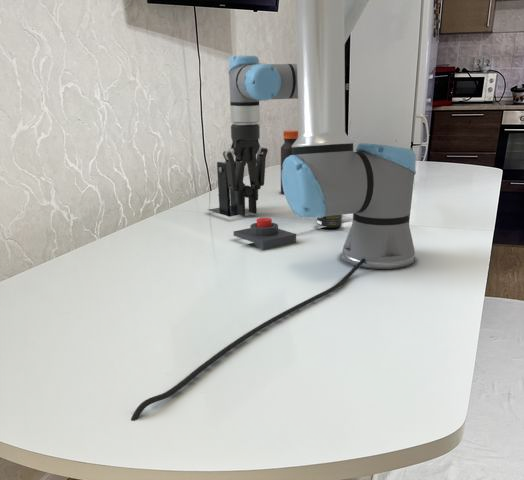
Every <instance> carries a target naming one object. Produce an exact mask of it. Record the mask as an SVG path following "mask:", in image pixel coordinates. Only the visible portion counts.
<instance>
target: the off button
mask: <svg viewBox="0 0 524 480" xmlns="http://www.w3.org/2000/svg"><path fill="white" fill-rule="evenodd" d="M256 223H257V227H271V226H272V223H273V219H272V218H270V217H258V218H257V219H256Z"/></svg>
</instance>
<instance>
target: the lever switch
mask: <svg viewBox="0 0 524 480" xmlns="http://www.w3.org/2000/svg"><path fill="white" fill-rule="evenodd" d="M224 162H225V161H224ZM224 162H222V161H217V162H216V167H217V168H216V171H217V190H218V207H214V208H208V211H210V212H213V213H215V214H220V215H223V216H226V217H228V218H229V217H235V216H240V215H239V214H237V203H236V202H235V191H234V190H232V189H229V188H228V181H227V171H226V163H224ZM234 162H235V160H234ZM235 169H236V164H235ZM246 214H251V213H250V212H249V209H247V208H245V215H246Z"/></svg>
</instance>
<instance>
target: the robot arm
mask: <svg viewBox="0 0 524 480" xmlns="http://www.w3.org/2000/svg"><path fill="white" fill-rule="evenodd" d="M369 1H370V0H294V19H295V21H294V22H295V49H296V51H295V52H296V63H260V61H259V60H260V59H259V57H258V56H256V55H232V56H231V57H229V61H228V73H227V74H228V78H229V79H228V81H229V102H230V103H229V107H230V122H231V123H232V124H231V125H230V138H231V145H230V148H229V150H227V151H226V150H224V151H223V152H222V156H223V158H224V160H225V161H224V162H226V171H227V181H228V188H229V189H232V190H234V191H235V202H236V203H237V214H239V215H238V216H242V217H245V216H246V214H245V209H246V197H245V191H242V187H243V183H244V178H245V177H244V176H245V167H246V165H247V171H248V177H249V186H250V187H251V188H252V189H253V194H252V196H250V197H248V198H247V199H248V200H247V201H248V210H249V212H250V213H249V214H254V215H255V214H257V201H258V200H259V190H261V188H262V187H264V186H265V178H266V158H267V155H268V153H269V152H268V150H269V149H268V148H266V147H262V146H261V145H260V142H259V140H260V137H261V133H260V132H261V130H260V124H259V122H260V120H261V119H260V115H261V114H260V102H262V101H265V102H266V101H269V100H289V99H290V100H291V99H296V100H297V106H298V107H297V109H298V110H297V111H298V138H297V140H296V141H295V142H294V144H293V145H292V155H290V156H289V157H287V158H286V159H285V160H284V162H283V165H282V166H283V169H282V174H281V173H280V177H281V176H282V186H283V191H284V194H283V195H284V198H285V200H286V203H287V205H288V206H289V208H290V210H291V212H293V213H294V214H295V215H296V216H298V217H299V218H303V219H310V218H316V219H317V218H323V217H324V216H333V215H342V216H343V215H351V214H352V222H351V225H350V228H349V231H348V233H347V236H346V239H345V241H344V243H343V247H342V250H341V251H342V253H341V258H342V260H343V261H344V262H345V263H347V264H349V265H352V266H353V267H352V268H351V269H350V271H349V272H348V273H347V274H346V275H345V276H344V277H343V278H342V279H340V281H338V282H337V283H336V284H334V285H332V286H331V287H330V288H328V289H326V290H323V291H322V292H320V293H318V294H316V295H313V296H312V297H310V298H308V299H306V300H304V301H302V302H299V303H298V304H296V305H294V306H292V307H290V308H288V309H287V310H284V311H283V312H281V313H279V314H277V315H275V316H273V317H271V318H270V319H268V320H266V321H264V322H263V323H261V324H259V325H258V326H256V327H254V328H253V329H250V330H249V331H247V332H246V333H244V334H243V335H242V336H240V337H239V338H237V339H236V340H234V341H232V342H231V343H230V344H228V345H227V346H225V347H223V349H221V350H219V351H218V352H217V353H216V354H214V355H213V356H211V357H210V358H209V359H207V360H206V361H205V362H204V363H202V364H201V365H199V366H198V367H196V369H194V370H193V371H192V372H191V373H189V374H188V375H187V376H186V377H185V378H184V379H182V380H181V381H180V382H178V383H177V384H176V385H174V386H173V387H171V388H170V389H168V390H167V391H164V392H163V393H160V394H157V395H154V396H152V397H149V398H147V399H145V400H143V401H142V402H140V404H139V405H138V406H137V407H136V408H135V410H134V412H133V413H132V416H131V418H130V421H131V422H133V421H134V422H136V421H137V420H138V419H139V417H140V416H141V414H142V413H143V411H144V410H145V409H146V408H147V407H148V406H150V405H152V404H154V403H157V402H161V401H163V400H165V399H168V398H170V397H172V396H173V395H174V394H176V393H177V392H178V391H180V390H181V389H182V388H184V387H185V386H186V385H188V384H189V383H190V382H191V381H193V380H194V379H195V378H196V377H197V376H199V375H200V374H201V373H202V372H203V371H205V370H206V369H207V368H208V367H210V366H211V365H212V364H214V363H215V362H216V361H218V360H219V359H220V358H222V357H223V356H224V355H227V353H228V352H230V351H231V350H233V349H234V348H236V347H237V346H238V345H241V343H243V342H244V341H246V340H247V339H249V338H250V337H252V336H253V335H255V334H257V333H258V332H260V331H261V330H263V329H265V328H267V327H268V326H270V325H272V324H273V323H275V322H278V321H279V320H280V319H282V318H284V317H286V316H288V315H290V314H292V313H294V312H295V311H297V310H299V309H301V308H303V307H305V306H307V305H309V304H310V303H313V302H315V301H316V300H318V299H321V298H323V297H325V296H326V295H328V294H330V293H332V292H334V291H335V290H337V289H338V288H340V287H341V286H342V285H343V284H344V283H345V282H346V281H347V280H348V279H350V277H351V276H353V274H354V273H355V272H356V271H357V270H358V269H359V268H363V269H372V270H394V269H401V268H405V267H408V266H411V265H412V264H413V263H414V261H415V255H416V253H415V252H416V251H415V245H414V242H413V241H414V240H413V236H412V232H411V227H410V218H411V210H412V202H413V200H412V199H413V191H414V183H415V182H414V181H415V175H416V173H417V171H416V164H417V163H416V161H417V155H416V153H415V151H414V150H412V149H411V148H408V147H407V148H406V147H401V146H393V145H386V144H377V143H369V142H359V143H358V144H357V146H356V149H355V151H354V141H353V140H352V139H351V138H350V136H348V135H347V132H346V82H345V81H346V78H345V77H346V68H345V67H346V65H345V64H346V62H345V61H346V59H345V53H346V51H345V47H346V42H347V41H348V39H349V37H350V36H351V33H352V32H353V30H354V28H355V26H356V25H357V22H358V21H359V19H360V17H361V16H362V13H363V12H364V10H365V8H366V6H367V5H368V3H369ZM234 161H235V162H234ZM235 164H236V169H235Z"/></svg>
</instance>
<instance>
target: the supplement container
mask: <svg viewBox="0 0 524 480" xmlns="http://www.w3.org/2000/svg"><path fill="white" fill-rule="evenodd" d="M316 225H317V226H320V227H318V229H319V230H323V231H337V230H339V229H341V228H342V226H343V215H333V216H324V217H323V218H316ZM321 226H322V227H321Z"/></svg>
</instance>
